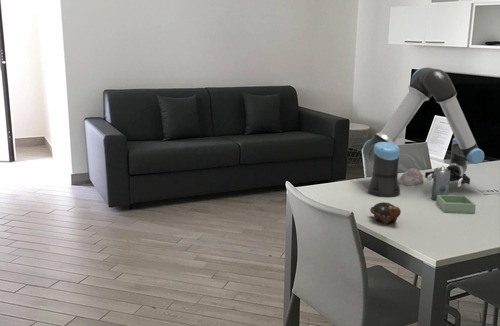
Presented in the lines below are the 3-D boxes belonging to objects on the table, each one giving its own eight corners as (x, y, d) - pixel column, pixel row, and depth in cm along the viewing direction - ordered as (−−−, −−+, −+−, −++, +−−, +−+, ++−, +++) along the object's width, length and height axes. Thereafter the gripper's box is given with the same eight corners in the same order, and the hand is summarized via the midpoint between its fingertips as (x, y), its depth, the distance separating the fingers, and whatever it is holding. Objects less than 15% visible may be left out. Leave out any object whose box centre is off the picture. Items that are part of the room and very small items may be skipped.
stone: (405, 196, 268) (420, 185, 263) (392, 181, 270) (407, 169, 265) (414, 189, 282) (429, 178, 277) (402, 174, 284) (416, 163, 279)
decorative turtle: (392, 229, 206) (392, 209, 204) (362, 221, 218) (362, 202, 216) (408, 223, 211) (408, 204, 210) (378, 215, 224) (378, 197, 222)
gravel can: (433, 201, 242) (437, 168, 239) (429, 196, 249) (432, 164, 245) (449, 201, 242) (452, 168, 238) (444, 197, 248) (448, 165, 245)
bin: (444, 212, 227) (445, 203, 226) (436, 203, 239) (437, 194, 238) (474, 213, 226) (475, 204, 225) (464, 204, 238) (465, 195, 237)
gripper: (479, 183, 256) (471, 194, 238) (426, 175, 269) (415, 185, 251) (481, 168, 254) (473, 177, 236) (428, 161, 267) (416, 169, 249)
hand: (443, 181), depth 244 cm, fingers open, 13 cm apart
